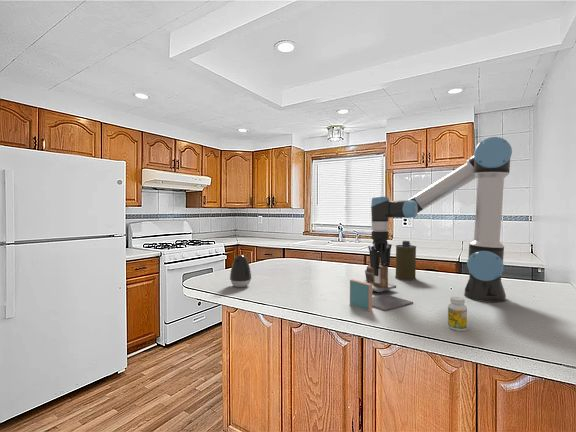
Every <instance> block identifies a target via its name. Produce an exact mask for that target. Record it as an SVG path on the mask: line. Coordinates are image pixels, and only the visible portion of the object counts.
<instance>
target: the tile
mask: <svg viewBox="0 0 576 432" xmlns="http://www.w3.org/2000/svg"><path fill="white" fill-rule="evenodd" d="M372 285H373V283H370V282H369V283H368V282H365V281H362V280H361V281H360V280H356V279H353V278H352V279H349V306H352V307H354V308H358V309H360V310H363V311H366V312H372V311H373V307H372V297H373V290H372Z"/></svg>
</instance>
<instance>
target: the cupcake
mask: <svg viewBox="0 0 576 432" xmlns="http://www.w3.org/2000/svg"><path fill="white" fill-rule="evenodd" d="M379 265H380V266H381V261H380V264H379ZM364 273H365V280H366V281H367V282H369V283H370V282H371V283H373V268H372V267H371V266H370V263H369V264H368V265H367V266H366V269H365V270H364Z"/></svg>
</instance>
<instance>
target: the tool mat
mask: <svg viewBox="0 0 576 432" xmlns="http://www.w3.org/2000/svg"><path fill="white" fill-rule="evenodd" d="M412 304H414V301H411V300H407V299H404V298H400V297H397V296H394V295H390V294H387V293H384V294H380V295H375V296H372V308H374V309H378V310H380V311H383V312H387V311H391V310H394V309H397V308H402V307H406V306H409V305H412Z"/></svg>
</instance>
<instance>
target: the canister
mask: <svg viewBox="0 0 576 432" xmlns="http://www.w3.org/2000/svg"><path fill="white" fill-rule="evenodd" d="M410 242H411V241H410V240H403V241H402V244H397V245H395V276H394V277H395V279H397V280H400V281H401V280H402V281H414V280H416V279H417V276H416V275H417V274H416V271H417V269H416V267H417V265H416V263H417V261H416V259H417V257H416V256H417V245H413V244H411V243H410Z"/></svg>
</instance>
